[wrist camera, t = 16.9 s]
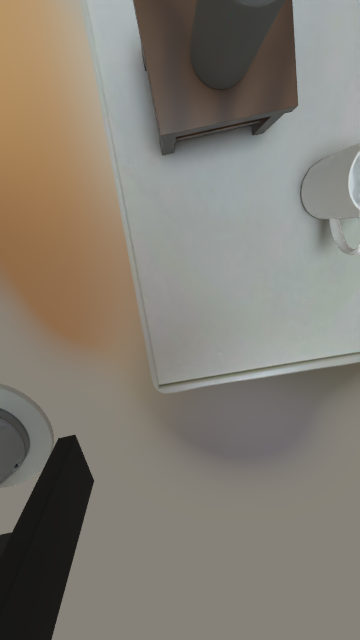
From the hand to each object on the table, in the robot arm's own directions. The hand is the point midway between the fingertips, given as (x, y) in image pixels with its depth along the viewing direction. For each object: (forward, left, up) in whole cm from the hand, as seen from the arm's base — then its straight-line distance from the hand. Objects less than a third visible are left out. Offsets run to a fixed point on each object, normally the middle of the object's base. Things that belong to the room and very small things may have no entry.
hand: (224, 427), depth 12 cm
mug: (+23, +7, -31) cm, 39 cm away
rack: (+8, +23, -31) cm, 39 cm away
